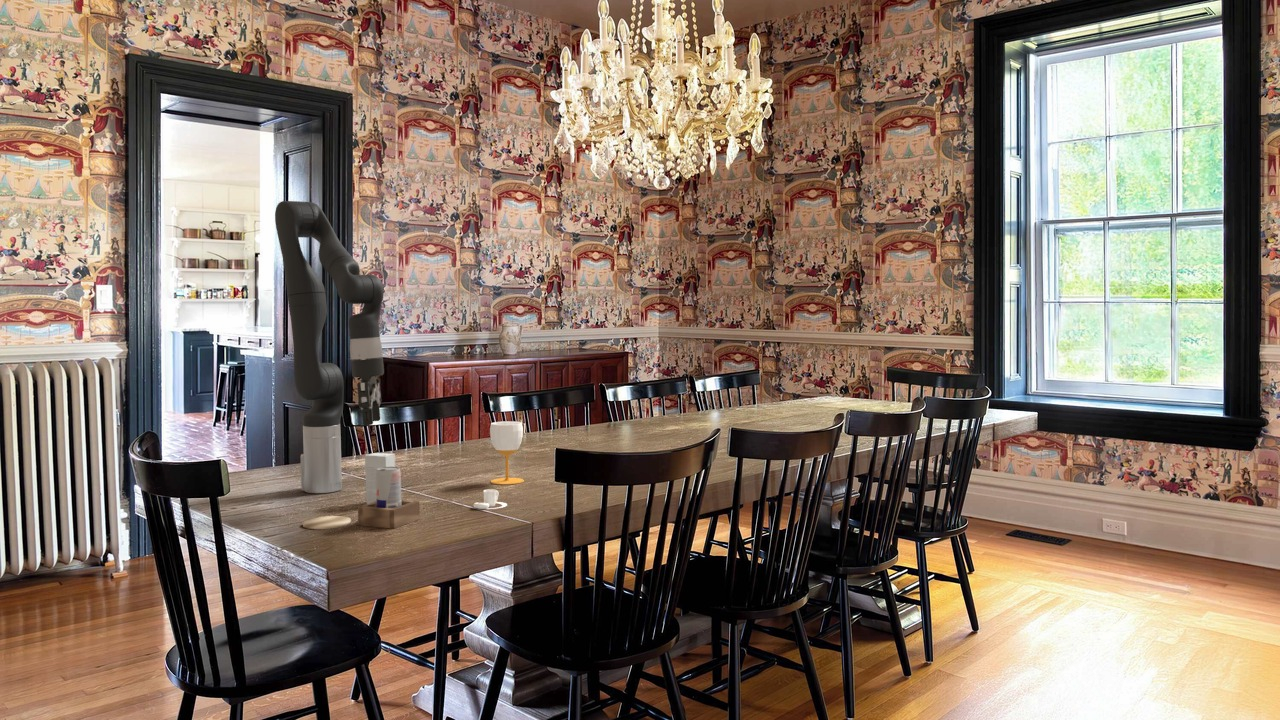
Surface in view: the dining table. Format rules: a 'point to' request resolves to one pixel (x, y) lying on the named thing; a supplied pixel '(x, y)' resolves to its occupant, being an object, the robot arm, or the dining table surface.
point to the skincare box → (371, 467)
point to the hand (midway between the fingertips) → (372, 423)
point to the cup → (506, 445)
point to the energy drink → (388, 487)
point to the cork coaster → (326, 522)
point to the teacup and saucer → (489, 500)
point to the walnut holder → (388, 515)
